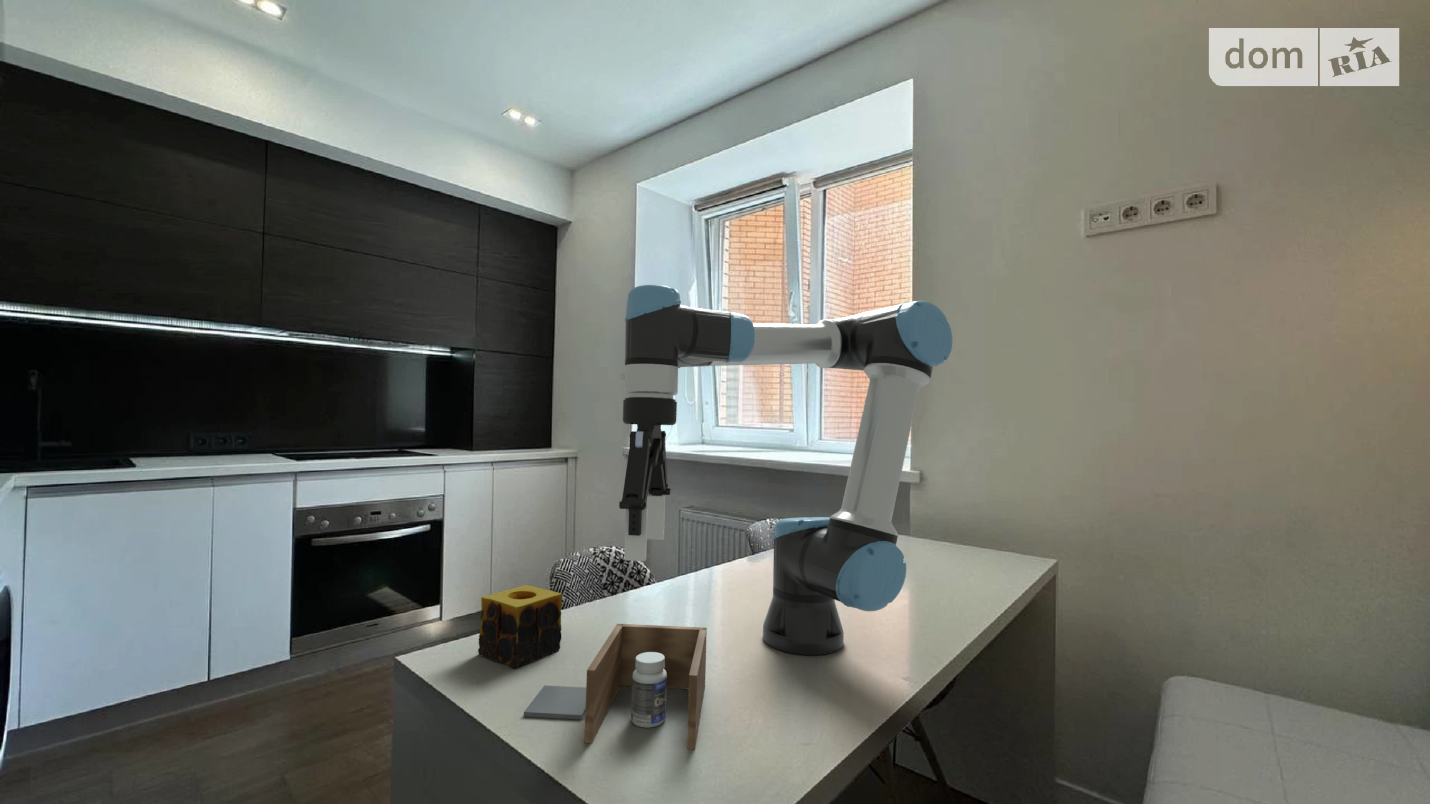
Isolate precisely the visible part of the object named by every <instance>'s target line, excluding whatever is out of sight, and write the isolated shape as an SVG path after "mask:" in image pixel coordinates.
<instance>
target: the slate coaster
mask: <svg viewBox="0 0 1430 804" xmlns="http://www.w3.org/2000/svg"><path fill="white" fill-rule="evenodd" d="M585 712H586V687H583V686H582V687H581V686H565V685H561V686H560V685H546V684H545V685H543V687H541V689H540V691H539V692H538V693H537V694H536V696H535V697H534V698H533V699H532V701H531V702H530V703H529V705H528V706H527V707H526V708H525V710H524V711H523V717H526V718H527V717H528V718H529V717H531V718H547V719H549V718H550V719H565V720H566V719H567V720H582V719H583V718H584V717H585Z"/></svg>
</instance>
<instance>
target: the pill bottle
mask: <svg viewBox="0 0 1430 804" xmlns="http://www.w3.org/2000/svg"><path fill="white" fill-rule="evenodd" d="M664 667H665V657H664V655H663V654H661V653H657V652H645V653H641V654H639V655H637V656H636V662H635V668H636V670H635V671H634V672H633V675H632V686H631V703H630V704H631V707H630V708H631V709H630V720H631V723H633V724H634V725H635V726H637V727H639V728H648V729H650V728H654V727H658V726H661V725H662V724H663V723H664V722H665V720H666V716H667V715H666V714H667V712H666V711H667V689H668V688H667V673H666V671H665V669H664Z"/></svg>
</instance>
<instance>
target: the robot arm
mask: <svg viewBox="0 0 1430 804" xmlns="http://www.w3.org/2000/svg"><path fill="white" fill-rule="evenodd" d="M625 308H626V310H625V318H624V322H625V338H624V339H625V341H624V342H625V345H624V346H625V350H624V353H625V354H624V355H625V356H624V357H625V359H624V372H622V373H621V374H620V375H619V377H620V379H621V380H623V381H624V383H623V392H624V394H627V395H628V396H627V397H625V398H624V399H623V401H622V403H623V405H622V422H623V423H624V424H625V425H636V427H637V428H636V430H635V431H634V430H633V431H632V430H631V431H630V432H629V433H630V434H629V447H628V456H627V463H626V471H625V477H624V485H623V490H622V498H621V501H620V500H619V502H618V504H619V505H618V506H619V507H618V508H619V510H625V525H624V526H625V527H624V528H625V529H624V553H623V554H624V558H623V559H624V561H635V562H646V561H647V556H648V555H647V551H648V549H647V548H648V547H647V546H648V540H656V541H657V540H661V541H664V540H665V524H666V523H665V520H666V518H665V516H666V496H670V495H671V488H669V484H668V470H667V469H668V468H667V449H666V436H667V433H666V430H662V429H661V428H662V426H675V425H676V424H677V414H678V413H677V412H678V411H677V410H678V409H677V408H678V402H677V401H676V399H675V398H674V396H676V395H677V394H678V390H679V387H678V385H679V369H680V368H691V367H713V366H714V367H720V366H721V367H722V366H726V367H727V366H759V365H760V366H762V365H763V366H764V365H766V366H767V365H770V366H771V365H802V364H803V365H806V364H807V365H808V364H809V365H810V364H811V365H812V364H815V366H817V367H818V368H820V369H837V370H838V369H839V370H840V369H841V370H850V371H851V370H852V371H863V372H864V373H865V375H866V376H867V378H868V379H869V383H868V388H867V392H866V396H865V399H864V401H865V402H864V405H863V410H862V415H861V418H860V423H859V427H858V432H857V437H856V441H855V445H854V450H853V455H852V459H851V461H850V462H851V463H850V466H849V473H848V475H847V481H846V486H845V490H844V494H843V499H842V503H841V507H840V509H839V510H838V511H837V512H835V513H833V514H832V515H830V516H829V517H828V516H826V517H825V516H811V517H810V516H808V517H806V516H805V517H790V518H788V517H786V518H781V519H779V520H777V521H776V523H775V526H774V532H773V538H772V542H773V566H772V567H773V573H772V575H773V577H772V598H771V601H770V604H769V606H768V609H767V613H766V616H765V619H764V621H763V625H762V640H763V641H764V642H765V643H766V644H767V645H768V646H770V647H771V648H774V649H776V650H778V651H782V652H784V653H789V654H794V655H795V654H796V655H802V656H803V655H805V656H818V655H819V656H820V655H827V654H828V655H829V654H832V653H835V652H837V651H839V650H840V649H842V648H843V646H844V633H845V632H844V628H843V626H842V625H843V624H842V622H841V618H840V615H839V612H838V608H837V605H836V601H838V602H840V603H841V604H843V605H844V606H846V607H848V608H852V609H857V610H860V611H863V612H877V611H880V610H882V609H884V608H885V607H887V606H888V604H890V603H893V602H894V600H895V599H896V598H897V597H898V596H899V594H900V592H901V590H902V588H903V586H904V584H905V580H906V577H907V562H906V561H905V560H904V559H905V556H904V553H903V552H902V550H901V549H900V548H899V547H898V546H897V542H898V537H899V532H898V531H897V530H896V528H895V527H894V525H893V523H892V520H893V515H894V510H895V505H896V500H897V495H898V492H899V486H900V482H901V478H902V471H903V466H904V463H905V457H906V453H907V448H908V443H909V438H910V434H911V429H912V423H913V421H914V420H913V419H914V416H915V415H914V414H915V410H916V405H917V399H918V395H919V391H920V389H922V388H924V387H925V386H926V385H928V384H929V383H930V382H931V378H932V373H933V368H934V367H937V366H939V365H941V364H943V363H944V362H945V361H946V360H948V358H949V357H950V355H951V352H952V349H953V333H952V329H951V325H950V323H949V322H948V320H947V316H946V314H944V312H943V311H942V309H940V308H939V307H938V306H937V305H935V304H934V303H932V302H929V301H927V300H915V301H904V302H901V303H900V304H897V305H892V306H888V307H882V308H878V309H874V310H868V311H864V312H861V313H857V314H854V315H850V316H845V317H841V318H833V319H829V318H827V319H821V320H819V321H817V322H816V323H815V324H809V323H808V324H805V323H804V324H803V323H802V324H800V323H793V324H792V323H753V321H752V320H751V318H750V317H749V316H747V315H745V314H742V313H738V312H733V311H731V310H729V311H725V310H723V311H722V310H715V309H709V308H708V309H706V308H698V307H691V306H687V305H683V304H682V300H681V295H680V291H678V290H677V289H676V288H674V287H670V286H668V285H660V284H641V285H638V286H636V287H634V288H632V289H631V290H630V291H629V292H628V294H627V301H626V306H625Z"/></svg>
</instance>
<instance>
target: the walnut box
mask: <svg viewBox="0 0 1430 804" xmlns="http://www.w3.org/2000/svg"><path fill="white" fill-rule="evenodd" d="M707 630H708V628H707V627H702V626H701V627H700V626H699V627H698V626H697V627H696V626H679V625H678V626H676V625H655V624H636V623H635V624H627V623H616V624H615V626H614V628H613V629H612V631H611V633H610V634H609V636H608V637H607V638H606V640H605V642H604V643H603V645H602V646H601V647H600V649H599V651H598V652H597V654H596V655H595V657H594V658H593V660H592V662H590V665H589V666H588V668H587V669H586V685H585V686H586V712H585V714H584V741H583V742H584V744H593V743H594V741H595V738H596V736H597V734H598V733H599V730H600V728H601V726H602V724H603V722H604V720H605V718H606V715H607V714H608V712H609V710H610V709H611V706H612V703H613V702H614V700H615V697H616V695H617V694H618V691H619V689H620V687H621V686H623V687H632V675H633V672H634V671H635V670H636V668H635V662H636V656H637V655H639V654H641V653H645V652H657V653H661V654H663V655H664V657H665V667H664V669H665V671H666V673H667V688H666V689H676V690H677V689H678V690H679V689H682V690H688V701H687V703H688V705H687V706H688V707H687V708H688V709H687V711H688V712H687V714H688V715H687V741H686V742H687V746H686V749H688V750H689V749H690V750H696V745H697V741H698V736H699V735H698V734H699V726H700V720H701V715H702V708H703V703H704V696H705V691H706V690H705V689H706V673H707V672H706V669H707V667H706V666H707V665H706V664H707V634H708V633H707Z"/></svg>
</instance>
